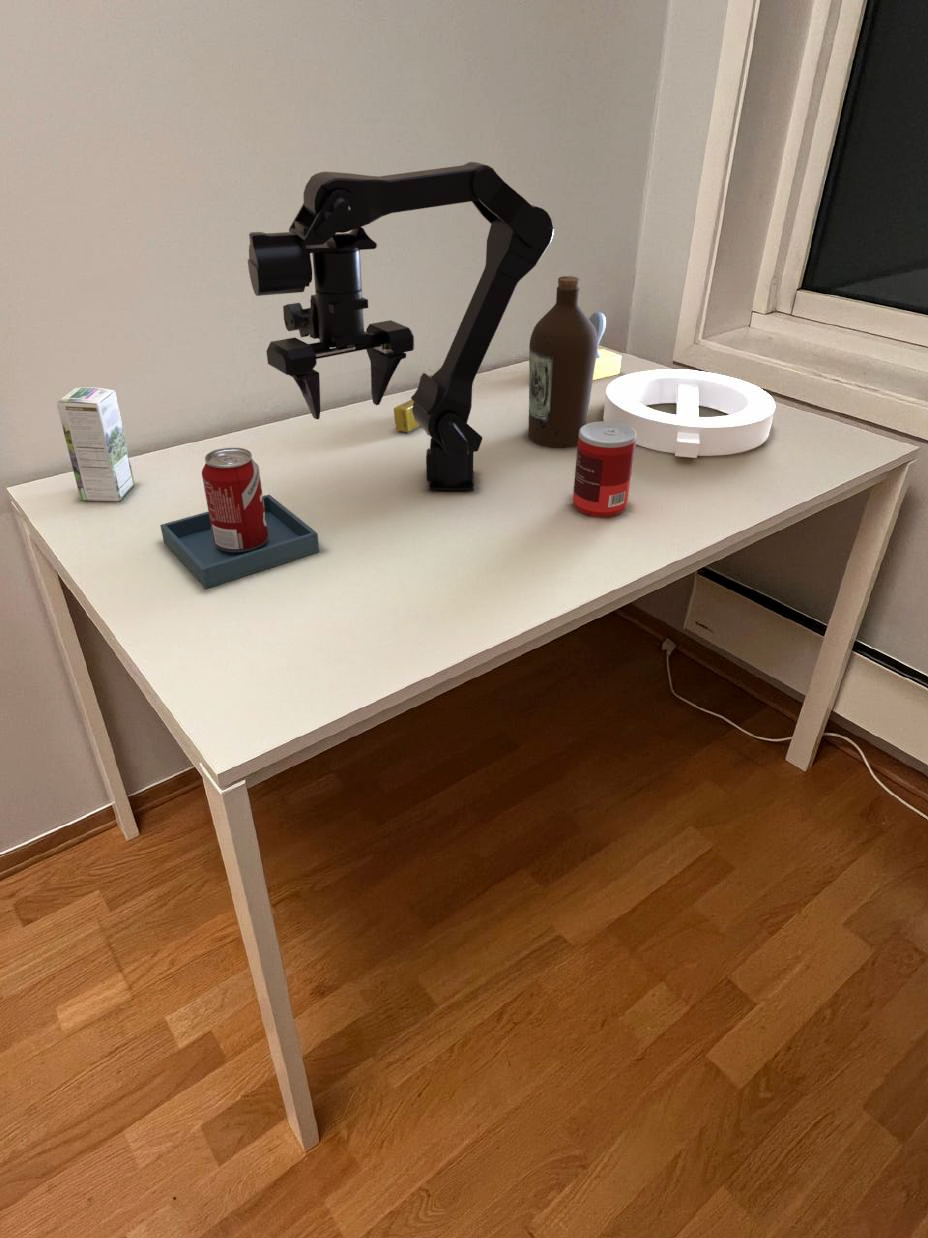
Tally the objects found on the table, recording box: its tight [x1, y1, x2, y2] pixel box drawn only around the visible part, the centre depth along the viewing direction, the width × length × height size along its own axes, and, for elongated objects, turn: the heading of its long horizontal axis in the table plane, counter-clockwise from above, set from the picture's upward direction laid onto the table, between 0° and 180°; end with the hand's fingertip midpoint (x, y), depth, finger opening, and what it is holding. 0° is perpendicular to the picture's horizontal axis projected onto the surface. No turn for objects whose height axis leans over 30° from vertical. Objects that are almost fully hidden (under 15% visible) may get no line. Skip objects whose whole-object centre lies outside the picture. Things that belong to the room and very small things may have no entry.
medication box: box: [393, 399, 421, 433], centre depth 143 cm, size 12×3×4 cm, turn 148°
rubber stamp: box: [588, 311, 622, 381], centre depth 162 cm, size 10×6×12 cm, turn 126°
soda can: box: [201, 446, 268, 553], centre depth 104 cm, size 7×7×12 cm
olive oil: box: [527, 275, 599, 448], centre depth 132 cm, size 11×11×25 cm
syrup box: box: [56, 386, 135, 502], centre depth 116 cm, size 6×6×14 cm
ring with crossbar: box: [602, 368, 776, 459], centre depth 144 cm, size 28×28×5 cm
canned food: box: [572, 420, 637, 518], centre depth 116 cm, size 8×8×11 cm
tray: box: [159, 494, 320, 590], centre depth 107 cm, size 15×14×3 cm
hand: (346, 411), depth 112 cm, fingers open, 9 cm apart
